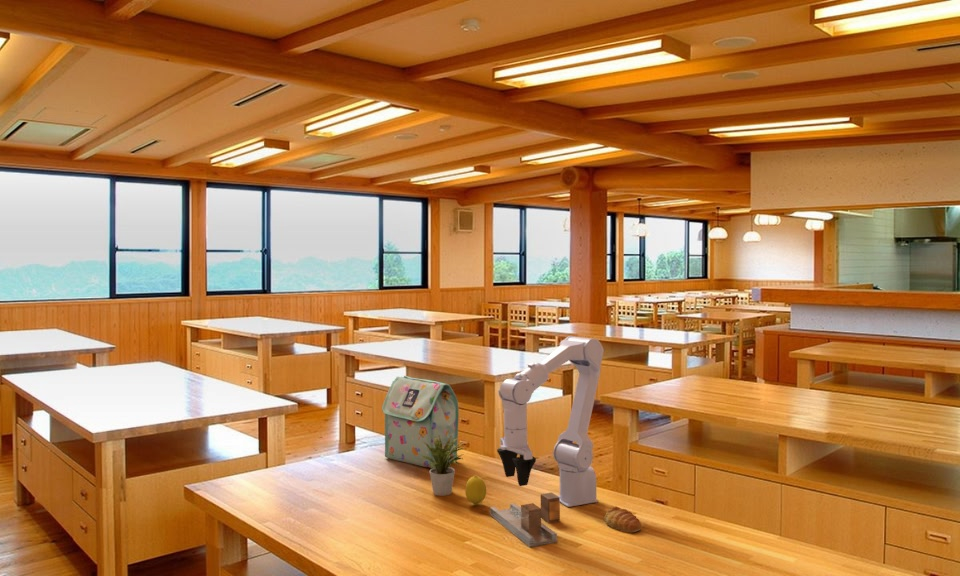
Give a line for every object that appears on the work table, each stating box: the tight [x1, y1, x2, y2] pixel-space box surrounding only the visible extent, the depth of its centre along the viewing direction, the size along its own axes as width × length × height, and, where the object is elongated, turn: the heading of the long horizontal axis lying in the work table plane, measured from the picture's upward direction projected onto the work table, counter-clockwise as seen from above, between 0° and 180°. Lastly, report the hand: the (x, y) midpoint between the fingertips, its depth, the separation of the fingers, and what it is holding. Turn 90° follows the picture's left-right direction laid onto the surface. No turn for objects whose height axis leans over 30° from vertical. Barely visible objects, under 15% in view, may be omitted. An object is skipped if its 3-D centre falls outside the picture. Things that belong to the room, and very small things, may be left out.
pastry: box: [604, 506, 642, 533], centre depth 170 cm, size 9×7×4 cm
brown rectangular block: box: [540, 492, 561, 524], centre depth 175 cm, size 3×4×6 cm
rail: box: [489, 502, 558, 548], centre depth 169 cm, size 7×22×7 cm, turn 23°
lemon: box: [464, 475, 487, 506], centre depth 185 cm, size 6×6×8 cm
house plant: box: [421, 435, 469, 497], centre depth 194 cm, size 14×14×16 cm
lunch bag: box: [381, 375, 460, 469], centre depth 227 cm, size 23×16×27 cm
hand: (516, 480), depth 175 cm, fingers open, 7 cm apart
